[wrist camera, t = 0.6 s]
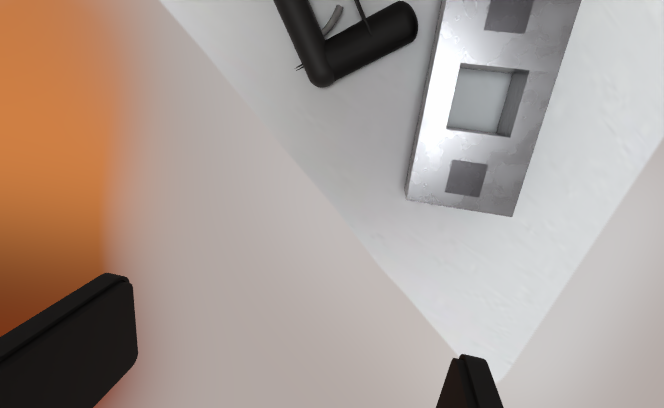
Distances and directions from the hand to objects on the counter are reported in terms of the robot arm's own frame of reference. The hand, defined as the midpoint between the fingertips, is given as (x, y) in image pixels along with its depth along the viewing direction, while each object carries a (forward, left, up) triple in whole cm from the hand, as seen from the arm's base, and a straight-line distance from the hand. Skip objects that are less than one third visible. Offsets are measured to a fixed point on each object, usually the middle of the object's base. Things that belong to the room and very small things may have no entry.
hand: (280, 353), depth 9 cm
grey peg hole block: (-8, +10, -28) cm, 31 cm away
